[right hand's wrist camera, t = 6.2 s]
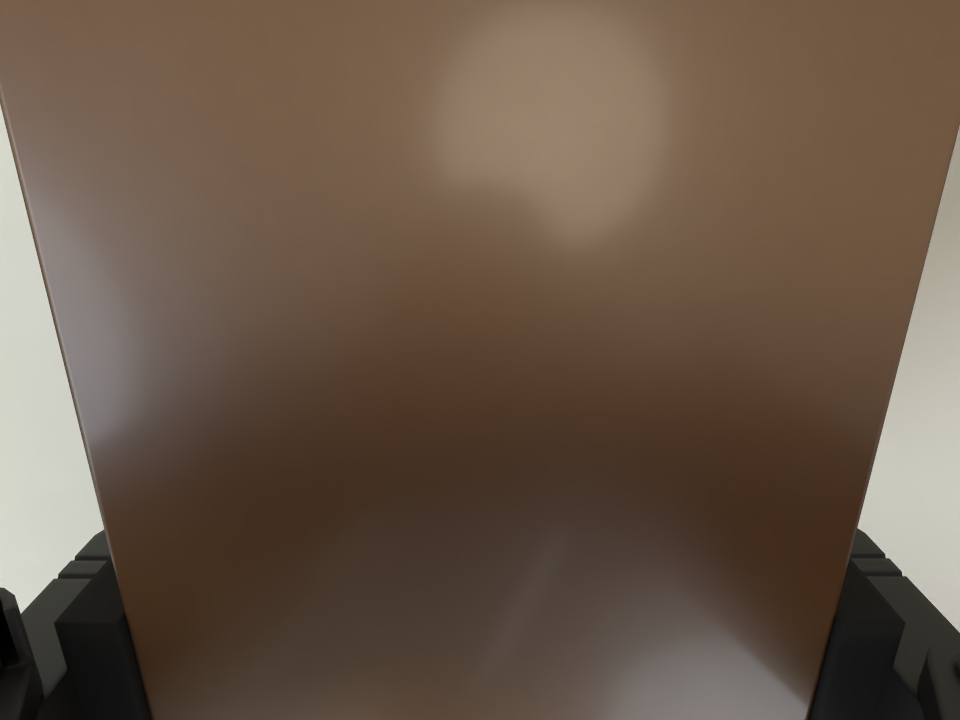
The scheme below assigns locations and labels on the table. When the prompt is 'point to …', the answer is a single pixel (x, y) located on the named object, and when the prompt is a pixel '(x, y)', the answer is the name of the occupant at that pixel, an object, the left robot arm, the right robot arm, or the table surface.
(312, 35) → the slab
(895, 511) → the table surface
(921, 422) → the table surface
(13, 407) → the table surface
